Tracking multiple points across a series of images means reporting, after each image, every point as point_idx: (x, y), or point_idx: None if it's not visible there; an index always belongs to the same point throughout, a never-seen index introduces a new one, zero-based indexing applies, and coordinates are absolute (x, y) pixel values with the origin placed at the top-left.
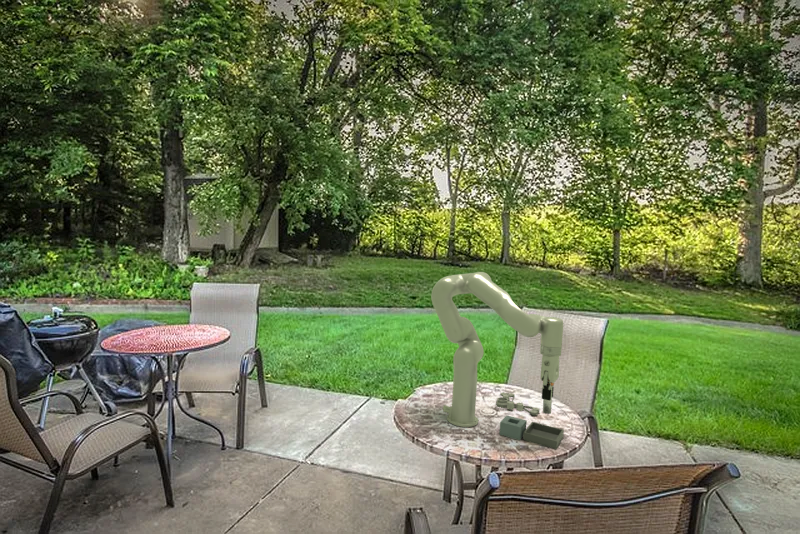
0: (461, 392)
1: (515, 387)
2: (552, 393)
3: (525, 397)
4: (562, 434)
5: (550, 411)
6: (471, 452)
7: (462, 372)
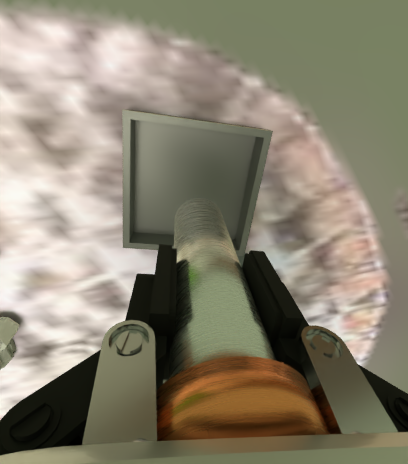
0: None
1: None
2: (174, 267)
3: None
4: (150, 113)
5: (212, 205)
6: (360, 326)
7: None
